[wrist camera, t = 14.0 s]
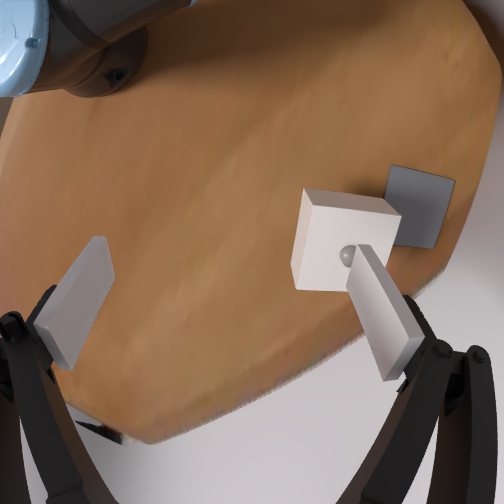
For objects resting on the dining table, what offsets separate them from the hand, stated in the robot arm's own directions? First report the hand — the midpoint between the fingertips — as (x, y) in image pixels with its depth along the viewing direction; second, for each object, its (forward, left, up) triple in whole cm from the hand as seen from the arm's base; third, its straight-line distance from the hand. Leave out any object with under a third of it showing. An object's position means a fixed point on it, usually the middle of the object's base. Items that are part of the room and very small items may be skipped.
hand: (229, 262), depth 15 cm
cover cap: (+8, +14, -23) cm, 28 cm away
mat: (+6, +31, -31) cm, 44 cm away
